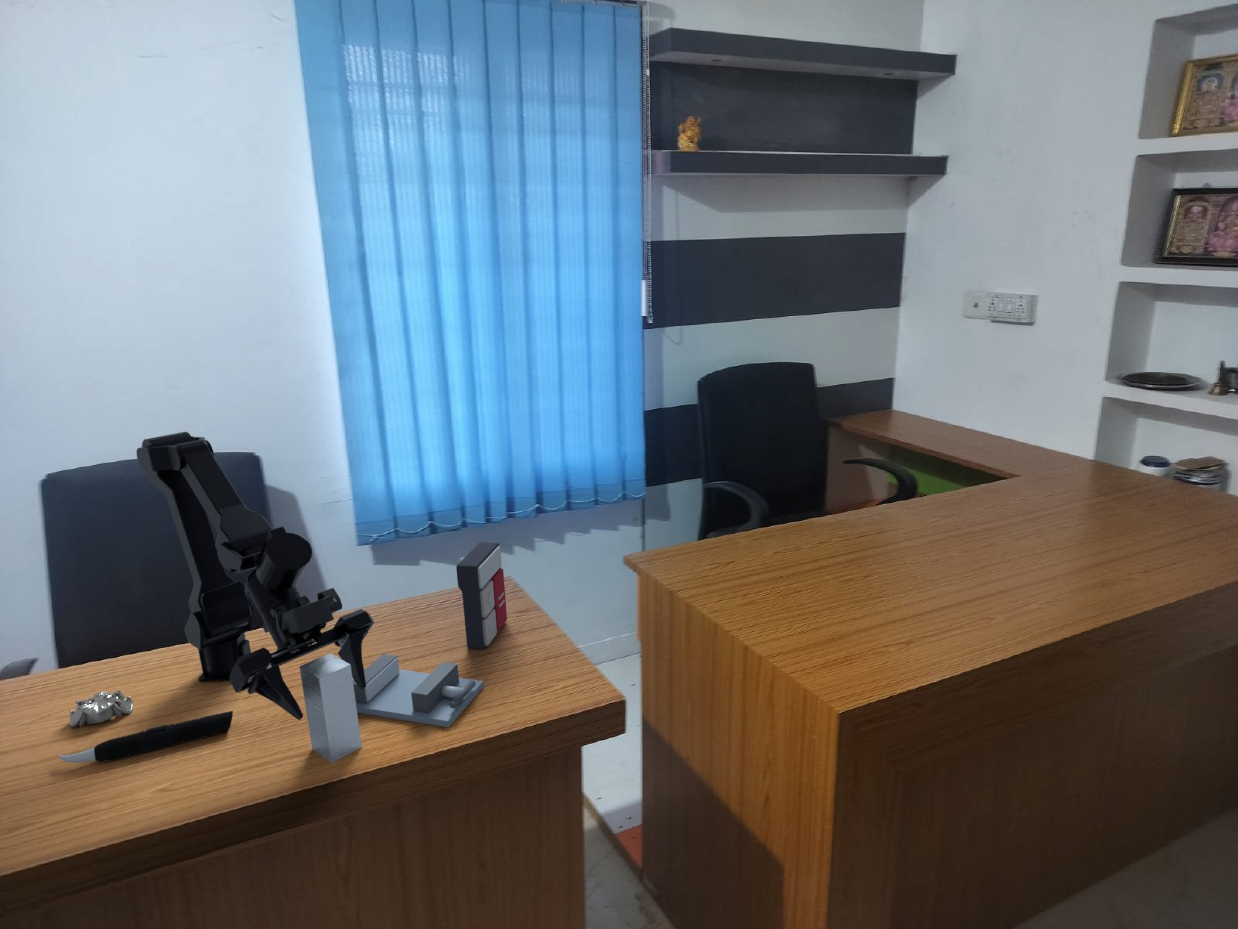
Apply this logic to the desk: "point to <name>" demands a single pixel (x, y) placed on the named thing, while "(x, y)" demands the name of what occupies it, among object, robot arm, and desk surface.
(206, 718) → the utility knife
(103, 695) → the ornament
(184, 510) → the robot arm
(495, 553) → the calculator
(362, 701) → the vise
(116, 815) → the desk surface
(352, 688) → the steel block
